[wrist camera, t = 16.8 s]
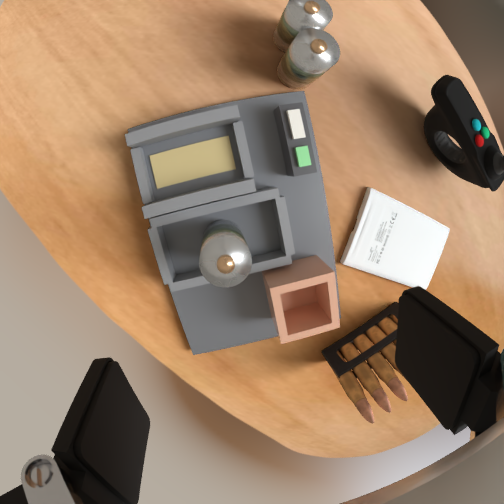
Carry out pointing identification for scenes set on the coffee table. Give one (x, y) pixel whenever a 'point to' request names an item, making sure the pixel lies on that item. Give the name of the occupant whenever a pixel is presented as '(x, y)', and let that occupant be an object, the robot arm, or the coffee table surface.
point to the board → (231, 206)
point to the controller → (462, 135)
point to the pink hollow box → (302, 298)
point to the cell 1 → (224, 254)
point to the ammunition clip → (368, 361)
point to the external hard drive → (394, 241)
